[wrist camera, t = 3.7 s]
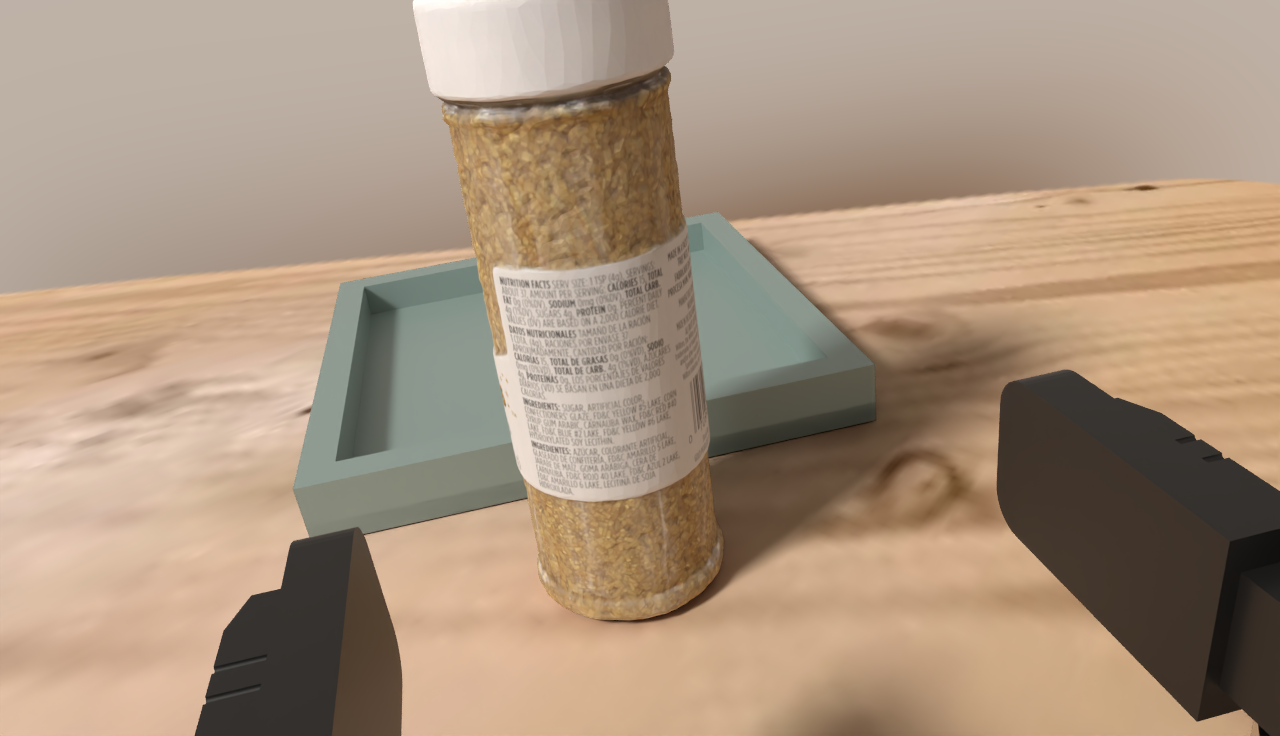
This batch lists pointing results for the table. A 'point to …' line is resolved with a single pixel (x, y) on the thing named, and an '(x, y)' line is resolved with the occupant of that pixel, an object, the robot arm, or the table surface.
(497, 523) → the table surface
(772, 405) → the tray
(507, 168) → the spice jar
